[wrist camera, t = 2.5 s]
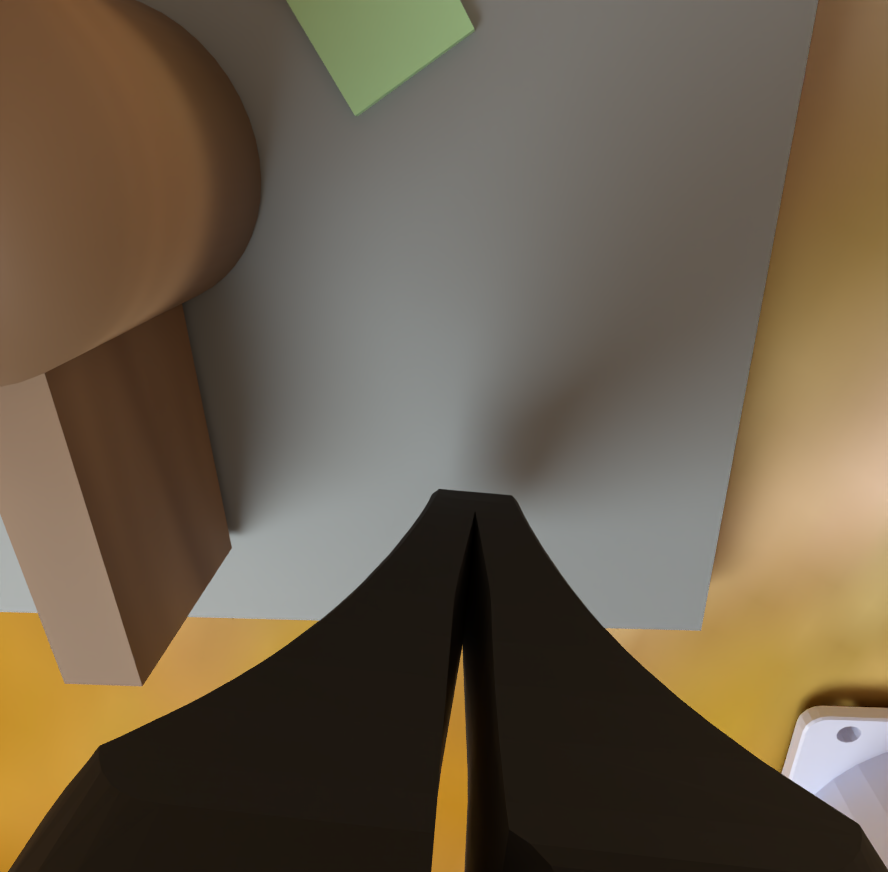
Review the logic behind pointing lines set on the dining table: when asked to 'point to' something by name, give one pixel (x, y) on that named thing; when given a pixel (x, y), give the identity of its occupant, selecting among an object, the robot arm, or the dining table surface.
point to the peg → (112, 319)
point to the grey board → (494, 295)
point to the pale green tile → (379, 41)
